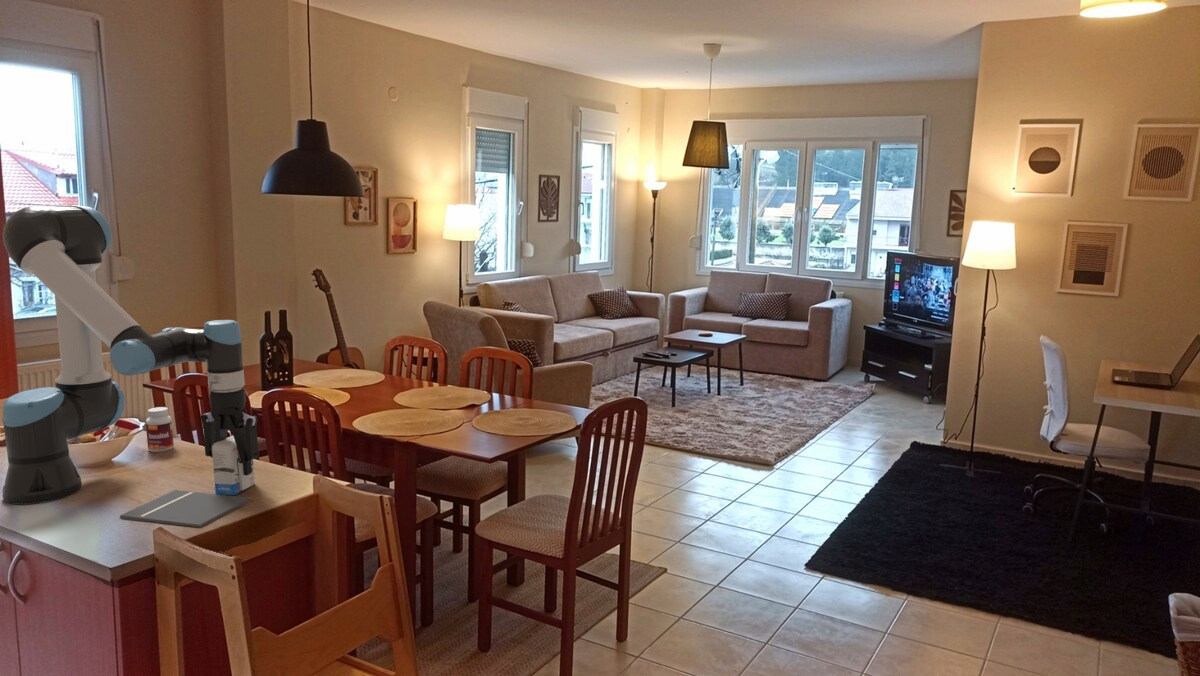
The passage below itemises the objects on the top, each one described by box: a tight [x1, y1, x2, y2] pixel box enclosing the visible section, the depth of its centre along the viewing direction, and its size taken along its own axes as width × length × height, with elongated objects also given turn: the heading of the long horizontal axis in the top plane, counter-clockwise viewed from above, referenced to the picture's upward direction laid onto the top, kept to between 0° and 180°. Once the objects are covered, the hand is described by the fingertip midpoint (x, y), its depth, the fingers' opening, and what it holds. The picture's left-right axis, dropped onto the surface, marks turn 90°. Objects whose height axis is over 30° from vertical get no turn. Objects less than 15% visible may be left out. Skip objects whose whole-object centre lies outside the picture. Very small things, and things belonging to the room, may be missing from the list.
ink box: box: [212, 435, 256, 496], centre depth 197 cm, size 9×5×12 cm, turn 168°
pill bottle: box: [145, 406, 175, 453], centre depth 228 cm, size 6×6×11 cm
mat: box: [119, 489, 252, 528], centre depth 186 cm, size 20×16×1 cm
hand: (234, 486), depth 197 cm, fingers closed on ink box, 5 cm apart
